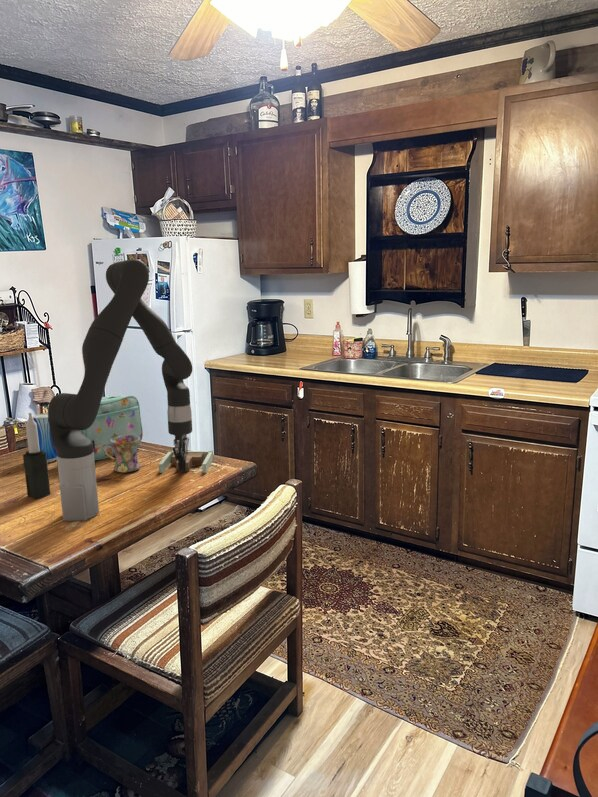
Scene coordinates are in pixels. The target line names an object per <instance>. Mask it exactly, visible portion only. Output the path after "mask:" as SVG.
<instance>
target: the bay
mask: <svg viewBox="0 0 598 797" xmlns="http://www.w3.org/2000/svg"><path fill="white" fill-rule="evenodd" d="M188 453H203V459H204V462H203V463H202V465H201V466H202V468H201V469H202V474H206V473H207V472H208V470H209V468H210V467H211V465H212V463H213V460H214V450H188ZM173 454H174V452H173V450H168V451H167V453H166V454H165V456H164V457H163V458H162V459H161V460H160V462H159V463H158V473H159V474H163V473H164V472H165V471H166V469H167V468H168V467H169V465H170V464H172V456H173Z"/></svg>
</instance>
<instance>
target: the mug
mask: <svg viewBox="0 0 598 797" xmlns="http://www.w3.org/2000/svg"><path fill="white" fill-rule="evenodd" d="M139 439H140V438H139V437H138V436H133V435H125V436H118V437H115V438H112V439H111V440H110V442H111V444H112V445H111V444H104V445H103V447H102V449H103V452H104V453H105V454H106V455H107V456H108V458H110V459H112V460H113V461H112V462H113V463H114V466H113V470H114V471H115V472H118V473H123V474H125V473H132V472H135V471H137V470H139V469H140V468H141V464H140V462H139V461H138V453H137V452H138V446H139V445H138V442H139ZM105 445H110V446H111V447H112V448H113V450H114V451H115V455H114V456H115V457H113V456H109V455H108V454H107V453H106V452H105V450H104V446H105ZM137 445H138V446H137Z"/></svg>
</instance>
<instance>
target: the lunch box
mask: <svg viewBox="0 0 598 797" xmlns="http://www.w3.org/2000/svg"><path fill="white" fill-rule="evenodd" d="M80 431H81V432H82V434H83V435H84V436H85V437H87V438H88V439H90V440H91V441H92V443H93V449H94V461H100V460H101V461H102V460H104V459H107V458H109V457H108V456H107V455H106V454H105V453H104V452H103V449H102V447H103V445H104V444H111V442H110V440H111V439H112V438H115V437H118V436H125V435H133V436H138V437H139V438H140V439H139V442H138V445H137V447H138V446H139V445H140V444H141V442H142V440H143V435H144V434H143V433H144V432H143V426H142V419H141V410H140V403H139V400H138V399H137V397H136V396H134V395H121V394H115V395H108V396H102V399H101V403H100V407H99V410H98V414H97V416H96V419H95V421H94V422H93V424H92V425H91V426H90V427H89V428H88V429H86V430H80ZM111 445H112V444H111ZM104 450H105V452H106V453H107V454H108V455H109V456H111V457H113V456H115V451H114V450H113V448H112V447H111V446H110V445H105V446H104Z"/></svg>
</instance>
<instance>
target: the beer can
mask: <svg viewBox="0 0 598 797" xmlns="http://www.w3.org/2000/svg"><path fill="white" fill-rule="evenodd" d="M32 417H33V420H34V421H35V422H36V423H37V430H38V440H39V449H40V450H43V452H46V457H47V462H49V463H52V461H54V462H56V461H57V454H56V449H55V448H54V446H53V444H52V439H51V433H50V427H49V421H48V412H45V413H39V414H34V415H33V416H32ZM55 460H56V461H55Z"/></svg>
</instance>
